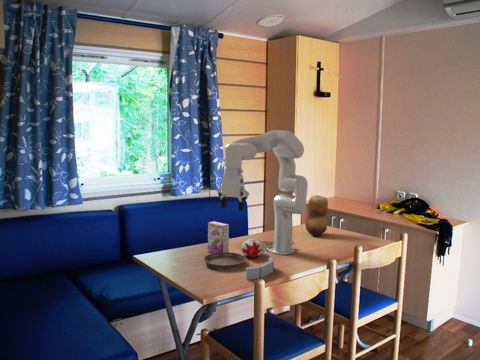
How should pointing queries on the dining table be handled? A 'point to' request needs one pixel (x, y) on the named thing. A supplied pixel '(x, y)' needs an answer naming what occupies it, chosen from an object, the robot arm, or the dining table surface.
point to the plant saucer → (224, 260)
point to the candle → (251, 248)
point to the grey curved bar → (260, 270)
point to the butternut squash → (317, 215)
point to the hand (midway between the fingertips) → (232, 208)
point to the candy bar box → (218, 237)
